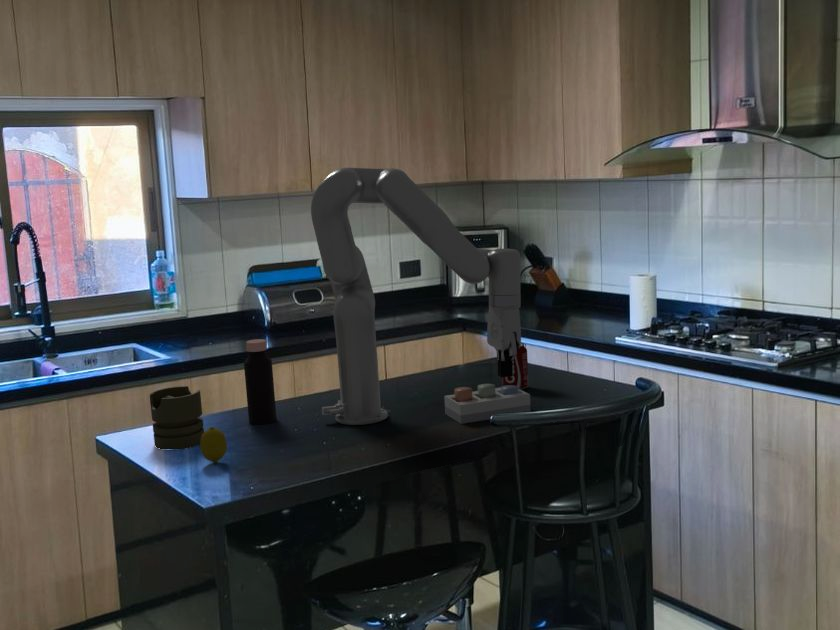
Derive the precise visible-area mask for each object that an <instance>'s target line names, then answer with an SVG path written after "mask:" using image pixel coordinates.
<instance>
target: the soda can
mask: <svg viewBox="0 0 840 630" xmlns="http://www.w3.org/2000/svg"><path fill="white" fill-rule="evenodd" d="M516 350H517V355H515V356H514V357H513V375H512V376H511V377H501V379H502V383H501V384H502V386H506V385H514V386H518V389H520V390H522V391H524V390H526V389H527V388H529V386H530V385H529V365H528V364H529V363H528V349H527V348H526V346H525V342H522V341H521V346H520V348H519V349H516Z"/></svg>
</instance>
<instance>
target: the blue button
mask: <svg viewBox="0 0 840 630" xmlns="http://www.w3.org/2000/svg"><path fill="white" fill-rule="evenodd" d="M500 388H501V394H503V395H510V394H517V393H518V386H514V385H506V386H503V385H502V386H500Z"/></svg>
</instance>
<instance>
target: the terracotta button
mask: <svg viewBox="0 0 840 630" xmlns="http://www.w3.org/2000/svg"><path fill="white" fill-rule="evenodd" d="M472 392H473V388H472V387H469V386H468V387H467V386H461V387H455V388H454V394H455V401H456V402H464V401H471V400H473V397H472Z"/></svg>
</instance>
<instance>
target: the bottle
mask: <svg viewBox="0 0 840 630" xmlns="http://www.w3.org/2000/svg"><path fill="white" fill-rule="evenodd" d="M245 347H246V349H245V350H246V353H247V354H248V356H247V357H246V359H245V360H244V362H243V368H244V371H243V372H244V378H245V380H244V381H245V391H246V392H245V393H246V403H247V413H248V414H247V415H248V423H250V424H252V425H266V424H267V425H268V424H271V423H275V421H276V420H277V419H278V418H277V408H276V396H275V384H274V383H275V382H274V372H273V360H272V358H270V357H269V355H267V350H268V345H267V340H266V339H261V338H259V339H258V338H257V339H255V338H254V339H250V340H249V339H248V340H247V341H246V342H245Z"/></svg>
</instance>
